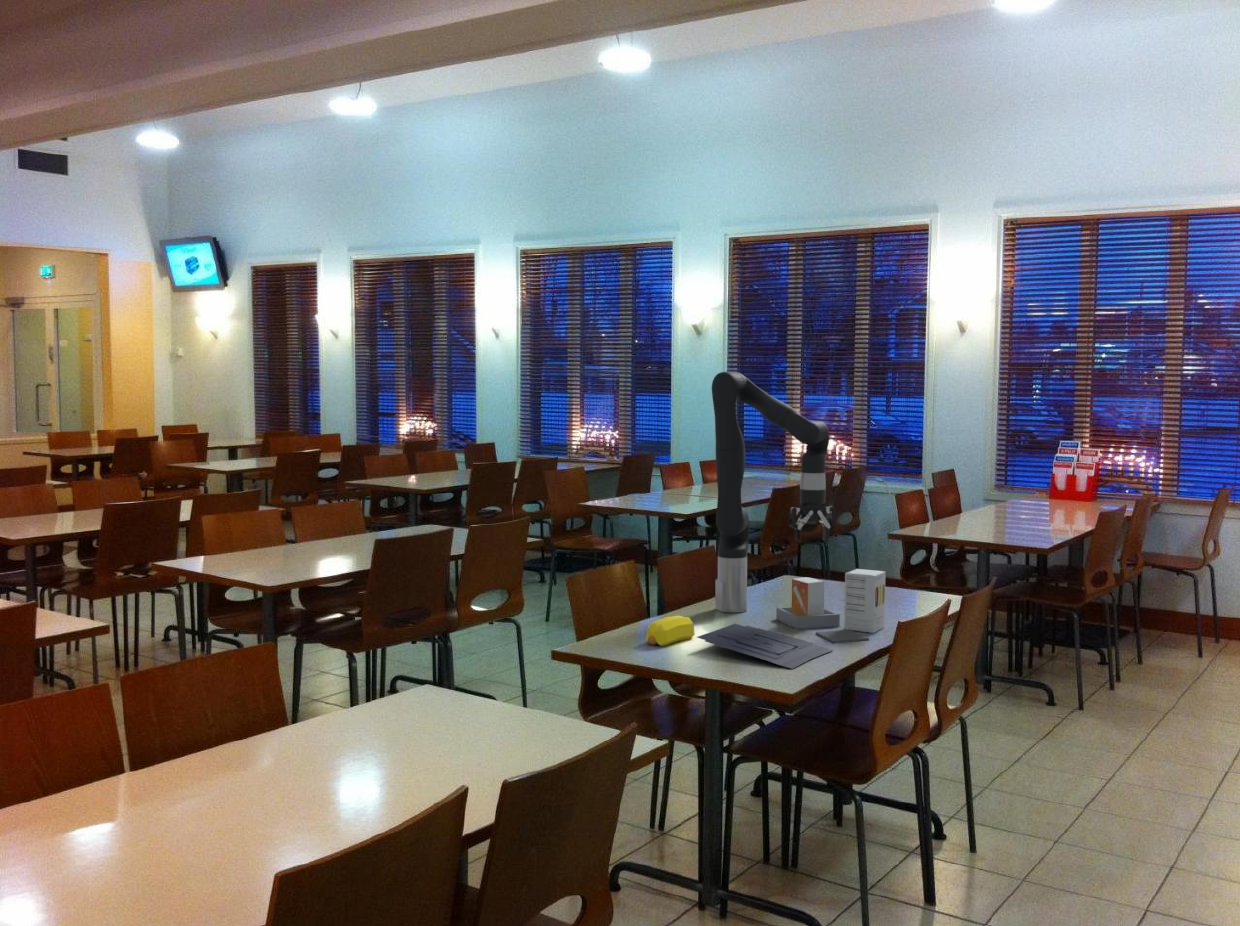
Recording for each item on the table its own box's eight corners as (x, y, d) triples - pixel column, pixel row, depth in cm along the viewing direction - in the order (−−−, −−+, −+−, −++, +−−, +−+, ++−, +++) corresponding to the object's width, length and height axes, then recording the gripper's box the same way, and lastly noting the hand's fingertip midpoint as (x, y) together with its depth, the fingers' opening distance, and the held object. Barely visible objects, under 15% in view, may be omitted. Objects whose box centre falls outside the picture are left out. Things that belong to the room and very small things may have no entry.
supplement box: (874, 633, 315) (874, 575, 314) (843, 629, 320) (844, 572, 319) (885, 627, 323) (886, 570, 322) (855, 623, 328) (856, 567, 327)
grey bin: (796, 628, 321) (796, 617, 320) (776, 618, 334) (776, 607, 334) (839, 625, 325) (839, 614, 324) (818, 616, 338) (818, 604, 338)
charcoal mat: (833, 642, 304) (833, 640, 304) (815, 634, 314) (815, 632, 314) (869, 640, 307) (869, 638, 307) (850, 631, 317) (850, 629, 317)
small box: (790, 621, 331) (791, 578, 330) (807, 618, 334) (808, 576, 333) (807, 626, 324) (808, 582, 323) (824, 624, 327) (825, 580, 326)
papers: (737, 631, 313) (738, 619, 312) (832, 659, 295) (834, 646, 295) (691, 648, 293) (692, 635, 293) (790, 679, 276) (792, 665, 275)
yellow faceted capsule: (639, 645, 302) (660, 649, 297) (639, 621, 302) (660, 625, 297) (679, 633, 316) (701, 637, 311) (679, 610, 315) (701, 614, 310)
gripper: (795, 489, 323) (795, 543, 324) (840, 488, 326) (839, 542, 328) (785, 487, 330) (785, 540, 331) (829, 485, 334) (828, 538, 335)
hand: (812, 541), depth 329 cm, fingers open, 8 cm apart
